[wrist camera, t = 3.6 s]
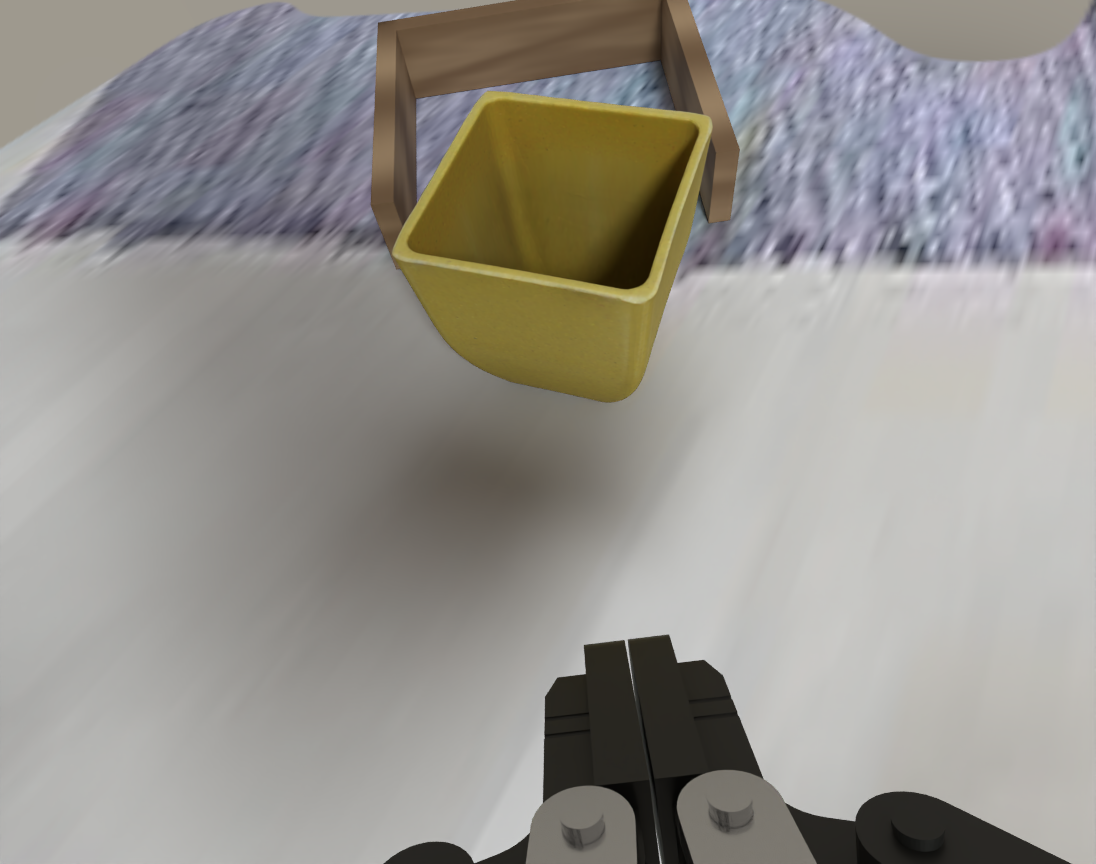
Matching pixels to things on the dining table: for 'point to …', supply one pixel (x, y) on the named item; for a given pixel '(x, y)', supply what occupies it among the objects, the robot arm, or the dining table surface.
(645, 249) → the flower pot
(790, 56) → the dining table surface
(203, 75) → the dining table surface
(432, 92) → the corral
